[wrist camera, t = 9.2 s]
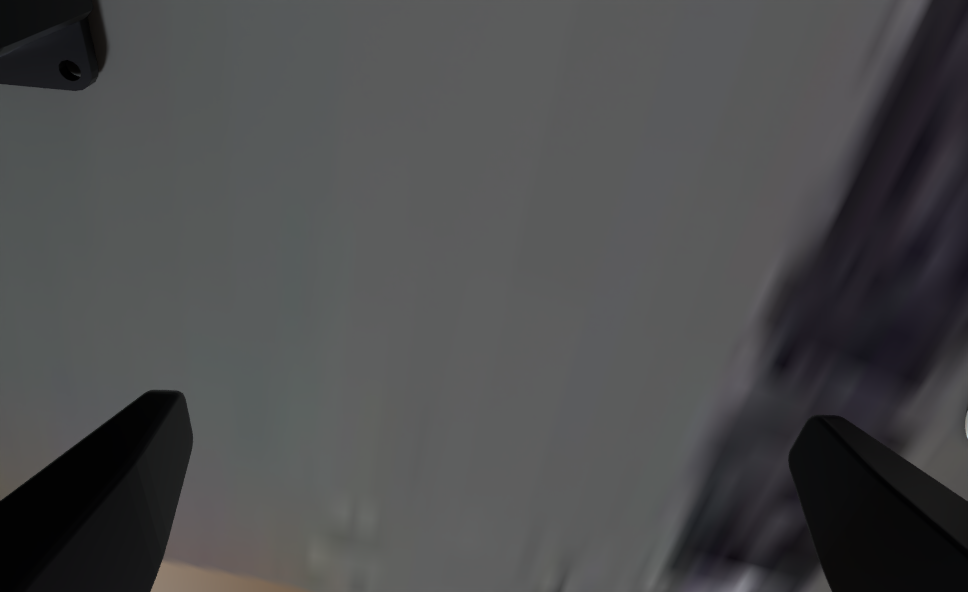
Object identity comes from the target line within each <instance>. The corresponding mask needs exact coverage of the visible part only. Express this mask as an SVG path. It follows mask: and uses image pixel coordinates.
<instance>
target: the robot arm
mask: <svg viewBox="0 0 968 592" xmlns="http://www.w3.org/2000/svg"><path fill="white" fill-rule="evenodd" d="M92 9H93V5H92V0H0V84H8V85H18V86H29V87H40V88H51V89H61V90H72V91H77V90H83V89H85V88H86V87H88V86H90V85H91V84H93V83H94V82H95V81H96V79H97V78H98V65H97V61H96V56H95V51H94V47H93V42H92V38H91V33H90V29H89V24H88V19H87V15H88V14H89V13H90V12H91V11H92ZM67 60H69V61H72V62H74V63H75V64H76V65H77V66H78V67H79V69H80V71H81V77H79V76H76V75H74V74H72V73H71V72H70V71H69V69H68V67H67V66H66V63H67ZM192 445H193V433H192V428H191V423H190V418H189V413H188V408H187V403H186V399H185V396H184V395H183V393H181V392H180V391H173V390H150V391H148V392H146V393H144V394H143V395H141V396H140V397H139V398H137V399H136V400H135V401H133V402H132V403H131V404H129V405H128V406H127V407H125V408H124V409H123V410H121V411H120V412H119V413H117V414H116V415H115V416H113V417H112V418H111V419H109V420H108V421H107V422H105V423H104V424H103V425H101V426H100V427H99V428H97V429H96V430H95V431H93V432H92V433H91V434H89V435H88V436H86V437H85V438H84V439H82V440H81V441H80V442H78V443H77V444H76V445H74V446H73V447H72V448H70V449H69V450H68V451H66V452H65V453H64V454H62V455H61V456H60V457H58V458H57V459H56V460H54V461H53V462H52V463H50V464H49V465H48V466H46V467H45V468H44V469H42V470H41V471H40V472H38V473H37V474H36V475H34V476H33V477H32V478H30V479H29V480H28V481H26V482H25V483H24V484H22V485H21V486H20V487H18V488H17V489H16V490H14V491H13V492H12V493H10V494H9V495H8V496H6V497H5V498H4V499H2V500H1V501H0V592H150V591H151V589H152V586H153V584H154V581H155V579H156V576H157V573H158V570H159V568H160V565H161V562H162V559H163V556H164V553H165V549H166V546H167V542H168V539H169V535H170V531H171V527H172V524H173V520H174V516H175V512H176V508H177V505H178V501H179V497H180V493H181V489H182V486H183V482H184V478H185V474H186V470H187V466H188V463H189V459H190V455H191V451H192ZM788 461H789V468H790V472H791V475H792V478H793V481H794V484H795V487H796V491H797V494H798V497H799V500H800V503H801V506H802V509H803V513H804V516H805V519H806V522H807V525H808V528H809V532H810V535H811V538H812V541H813V544H814V547H815V550H816V553H817V556H818V559H819V562H820V564H821V567H822V569H823V572H824V574H825V577H826V579H827V581H828V584H829V586H830V588H831V591H832V592H968V501H966V500H965V499H963V498H962V497H960V496H959V495H957V494H956V493H954V492H953V491H951V490H950V489H948V488H947V487H945V486H944V485H942V484H941V483H939V482H938V481H936V480H935V479H934V478H932V477H931V476H929V475H928V474H926V473H925V472H923V471H922V470H920V469H919V468H917V467H916V466H914V465H913V464H911V463H910V462H908V461H907V460H905V459H904V458H902V457H901V456H899V455H898V454H896V453H895V452H893V451H892V450H891V449H889V448H888V447H886V446H885V445H883V444H882V443H880V442H879V441H877V440H876V439H874V438H873V437H871V436H870V435H868V434H867V433H865V432H864V431H862V430H861V429H859V428H858V427H856V426H855V425H853V424H852V423H850V422H849V421H847V420H846V419H844V418H843V417H840V416H835V415H814V416H812V417H810V418H809V419H808V420H807V421H806V423H805V425H804V427H803V428H802V430H801V432H800V434H799V435H798V437H797V439H796V441H795V443H794V444H793V446H792V448H791V450H790V453H789V460H788Z"/></svg>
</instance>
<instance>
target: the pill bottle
mask: <svg viewBox="0 0 968 592" xmlns="http://www.w3.org/2000/svg"><path fill="white" fill-rule="evenodd" d="M965 429H966V435H967V438H968V411H967V415H966V420H965Z"/></svg>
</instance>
